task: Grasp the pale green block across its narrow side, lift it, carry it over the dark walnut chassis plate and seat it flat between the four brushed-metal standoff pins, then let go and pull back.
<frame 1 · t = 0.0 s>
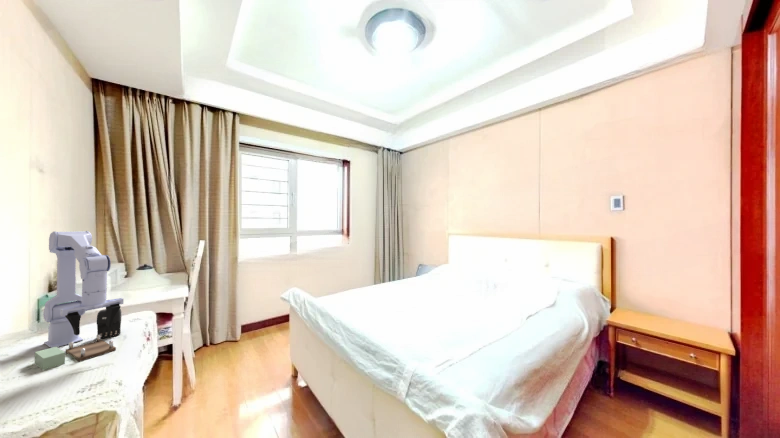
hand: (93, 330, 91), 10 cm above the table, tool pointing down, fingers open, 7 cm apart
pale green block: (49, 364, 88), on the table
chassis: (90, 351, 97), on the table
battery charger: (108, 337, 109), on the table
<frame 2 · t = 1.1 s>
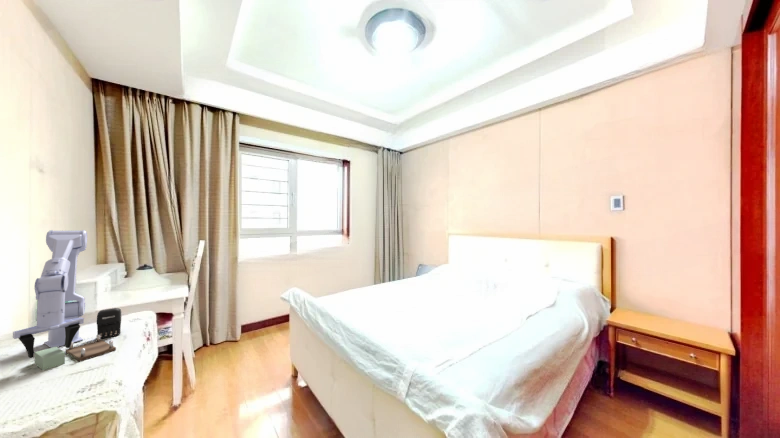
hand: (49, 352, 88), 4 cm above the table, tool pointing down, fingers open, 7 cm apart
nothing on the table moved.
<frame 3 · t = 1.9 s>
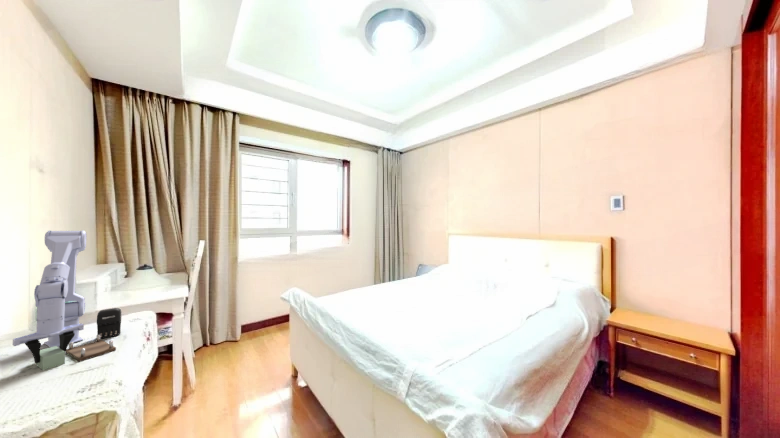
hand: (49, 358, 89), 2 cm above the table, tool pointing down, fingers closed on pale green block, 4 cm apart
pale green block: (49, 363, 89), on the table, touching gripper
everything else where it was.
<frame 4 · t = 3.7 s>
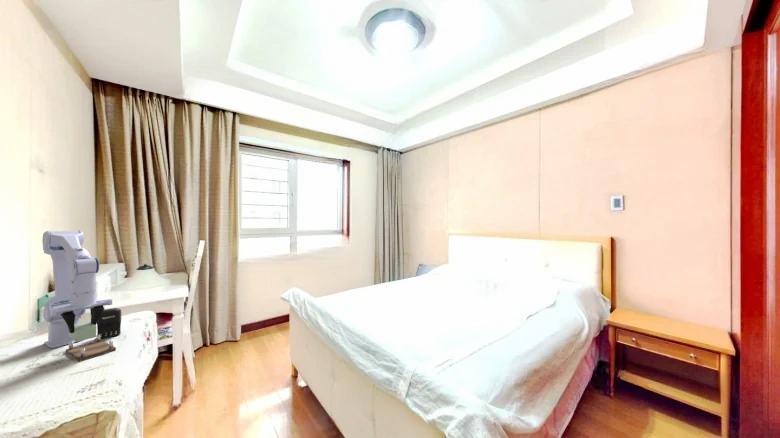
hand: (82, 329, 95), 9 cm above the table, tool pointing down, fingers closed on pale green block, 4 cm apart
pale green block: (82, 336, 95), point 6 cm above the table, touching gripper
everything else where it was.
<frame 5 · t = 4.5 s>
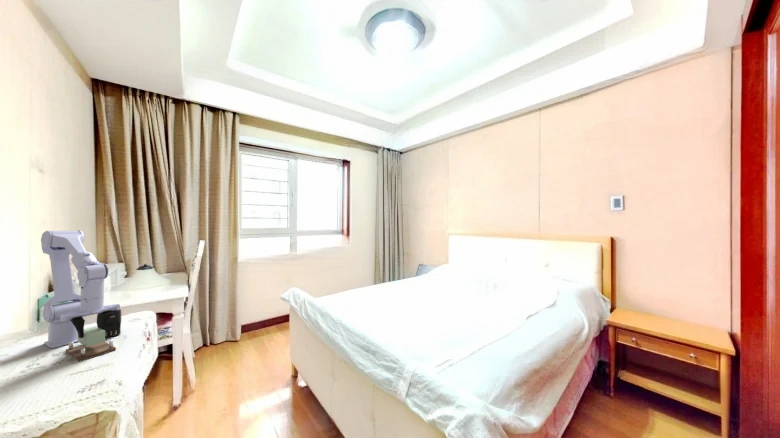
hand: (91, 334, 97), 6 cm above the table, tool pointing down, fingers closed on pale green block, 4 cm apart
pale green block: (91, 341, 97), point 4 cm above the table, touching gripper
everything else where it was.
when the fingers open (4 cm above the table, at t = 5.4 s): pale green block stays where it is, resting on chassis.
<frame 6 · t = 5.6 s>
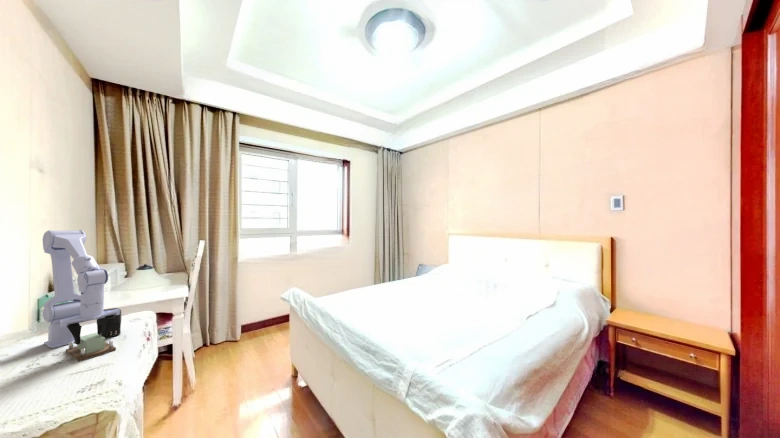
hand: (91, 340, 97), 4 cm above the table, tool pointing down, fingers open, 6 cm apart
pale green block: (91, 348, 97), point 1 cm above the table, touching chassis
everything else where it was.
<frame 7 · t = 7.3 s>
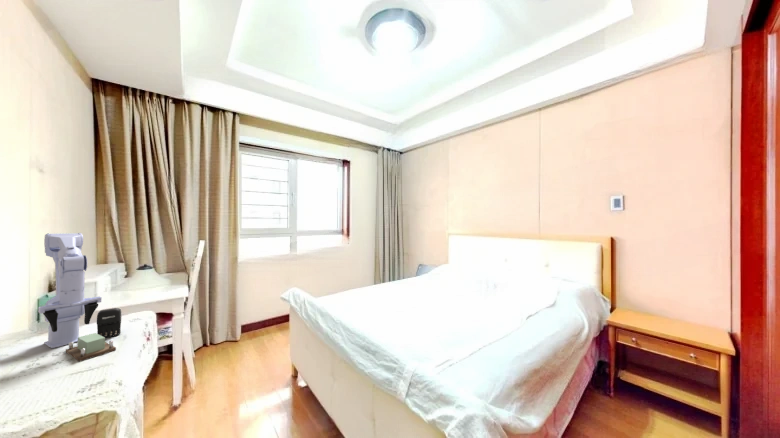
hand: (71, 327, 95), 9 cm above the table, tool pointing down, fingers open, 7 cm apart
nothing on the table moved.
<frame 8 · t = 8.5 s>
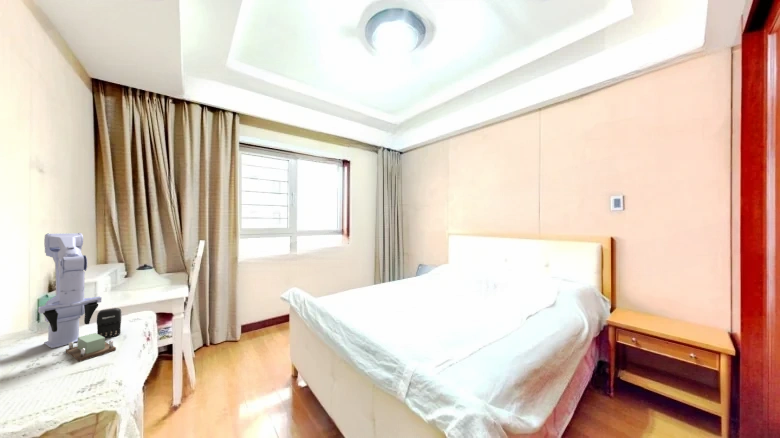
hand: (71, 327, 95), 9 cm above the table, tool pointing down, fingers open, 7 cm apart
nothing on the table moved.
at the end: pale green block 0.0 cm off-centre on the chassis, point 1.0 cm above the chassis's base; pale green block tilted 0°; the gripper is holding nothing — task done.
